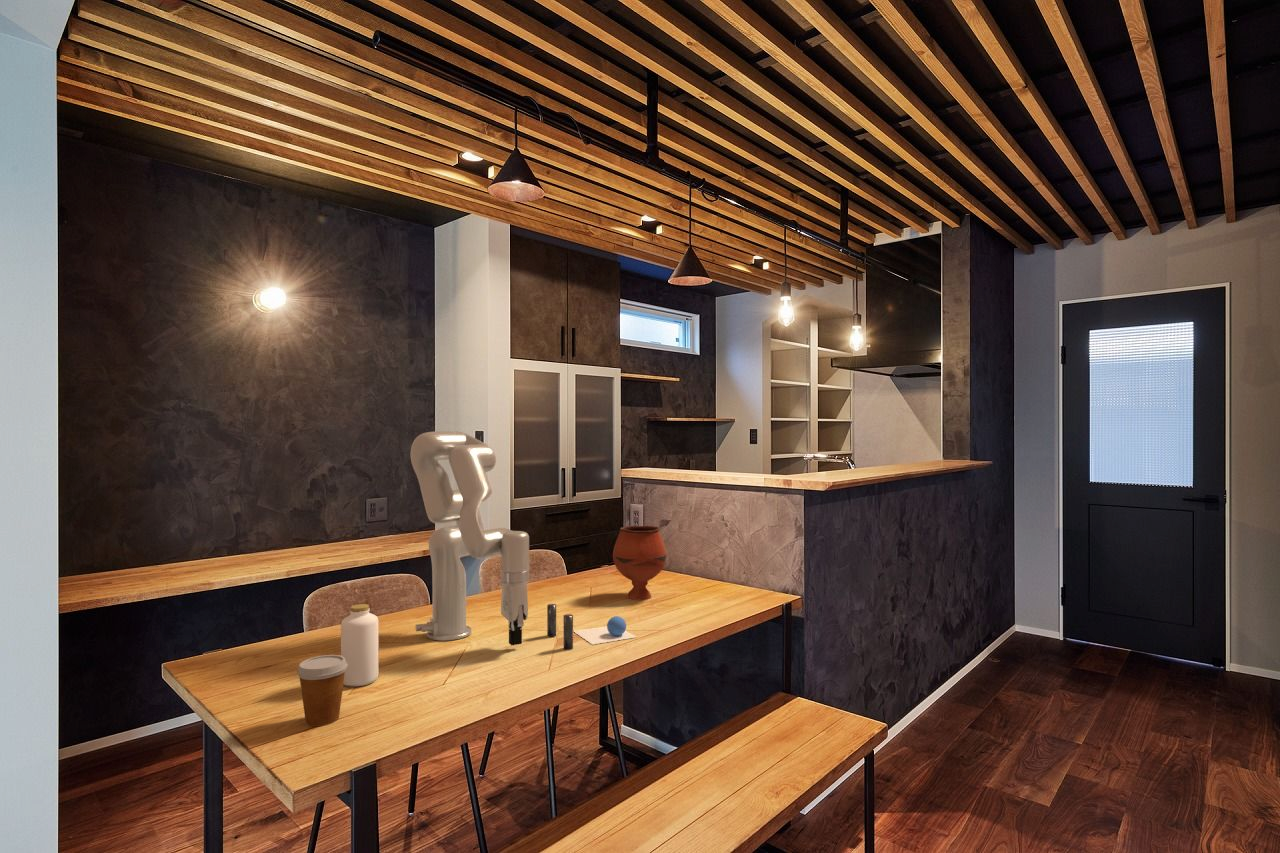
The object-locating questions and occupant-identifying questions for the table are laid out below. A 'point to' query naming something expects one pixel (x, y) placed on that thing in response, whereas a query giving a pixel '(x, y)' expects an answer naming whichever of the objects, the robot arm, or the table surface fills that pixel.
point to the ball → (616, 626)
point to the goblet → (639, 557)
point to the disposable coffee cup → (322, 688)
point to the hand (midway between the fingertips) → (515, 643)
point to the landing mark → (601, 635)
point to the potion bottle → (360, 646)
